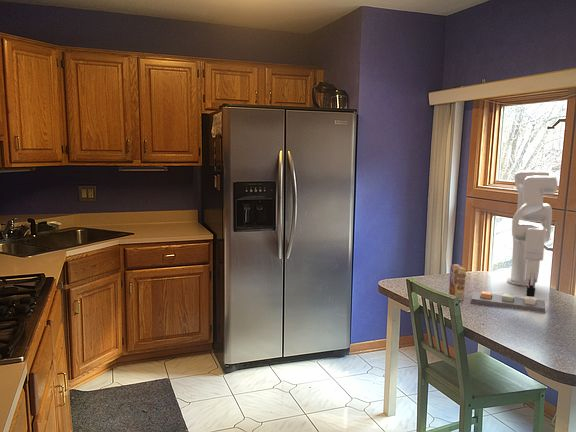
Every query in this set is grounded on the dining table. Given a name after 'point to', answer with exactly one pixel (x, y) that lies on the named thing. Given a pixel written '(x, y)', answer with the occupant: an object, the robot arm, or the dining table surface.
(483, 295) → the orange button
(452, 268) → the candy box
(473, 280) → the dining table surface
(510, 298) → the sage button
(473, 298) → the button panel
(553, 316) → the dining table surface
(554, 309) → the dining table surface
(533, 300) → the cream button
